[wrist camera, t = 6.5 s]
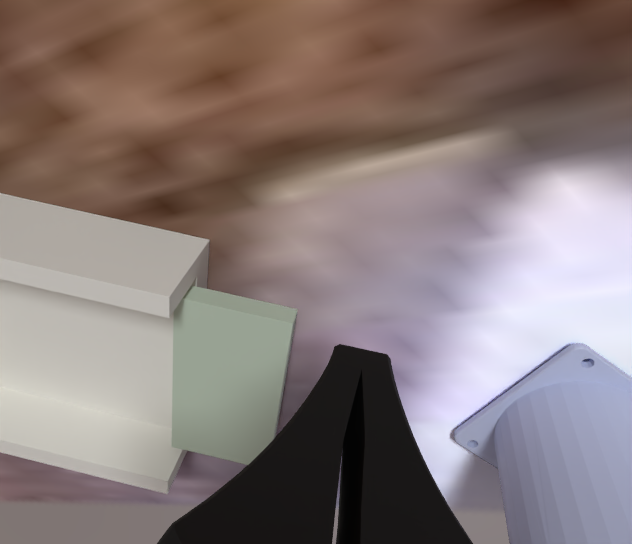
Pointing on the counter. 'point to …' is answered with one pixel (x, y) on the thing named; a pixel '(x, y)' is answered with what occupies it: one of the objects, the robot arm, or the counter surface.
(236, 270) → the counter surface
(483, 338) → the counter surface
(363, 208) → the counter surface
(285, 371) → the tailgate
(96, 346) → the white open tray
